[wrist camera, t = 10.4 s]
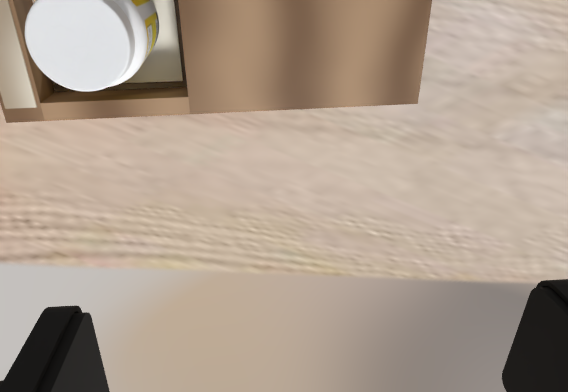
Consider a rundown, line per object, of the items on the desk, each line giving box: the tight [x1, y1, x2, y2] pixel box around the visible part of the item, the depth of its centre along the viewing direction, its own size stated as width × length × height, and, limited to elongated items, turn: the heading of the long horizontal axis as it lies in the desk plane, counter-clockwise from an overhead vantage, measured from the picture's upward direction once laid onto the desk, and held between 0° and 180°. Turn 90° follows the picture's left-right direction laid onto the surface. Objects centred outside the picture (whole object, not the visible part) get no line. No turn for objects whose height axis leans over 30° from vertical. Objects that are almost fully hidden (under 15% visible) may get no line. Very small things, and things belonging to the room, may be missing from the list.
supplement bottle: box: [25, 0, 159, 92], centre depth 21 cm, size 5×5×8 cm
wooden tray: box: [0, 0, 432, 123], centre depth 24 cm, size 24×10×3 cm, turn 90°
